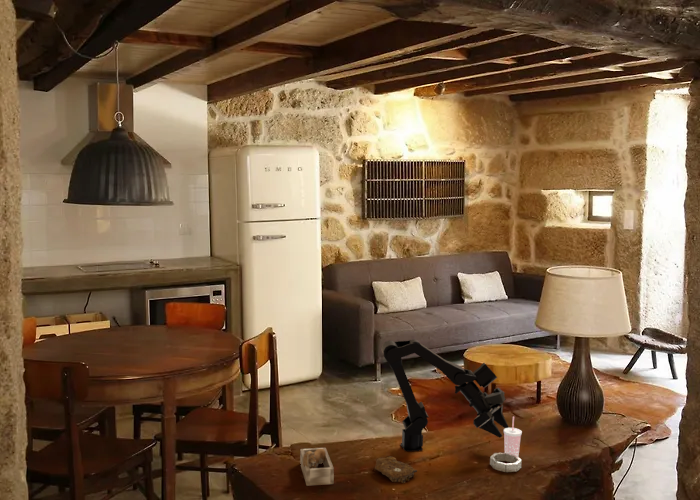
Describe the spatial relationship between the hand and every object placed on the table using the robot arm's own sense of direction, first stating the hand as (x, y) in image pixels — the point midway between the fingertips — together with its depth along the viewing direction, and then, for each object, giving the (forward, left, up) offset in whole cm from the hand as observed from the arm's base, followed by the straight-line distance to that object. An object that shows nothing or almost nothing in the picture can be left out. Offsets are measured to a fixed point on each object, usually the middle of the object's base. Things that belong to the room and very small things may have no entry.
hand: (504, 432), depth 244 cm
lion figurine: (-66, -6, -8) cm, 67 cm away
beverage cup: (+2, -2, -8) cm, 9 cm away
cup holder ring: (-3, -9, -8) cm, 12 cm away
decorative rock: (-42, -9, -8) cm, 43 cm away
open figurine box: (-66, -6, -8) cm, 67 cm away
